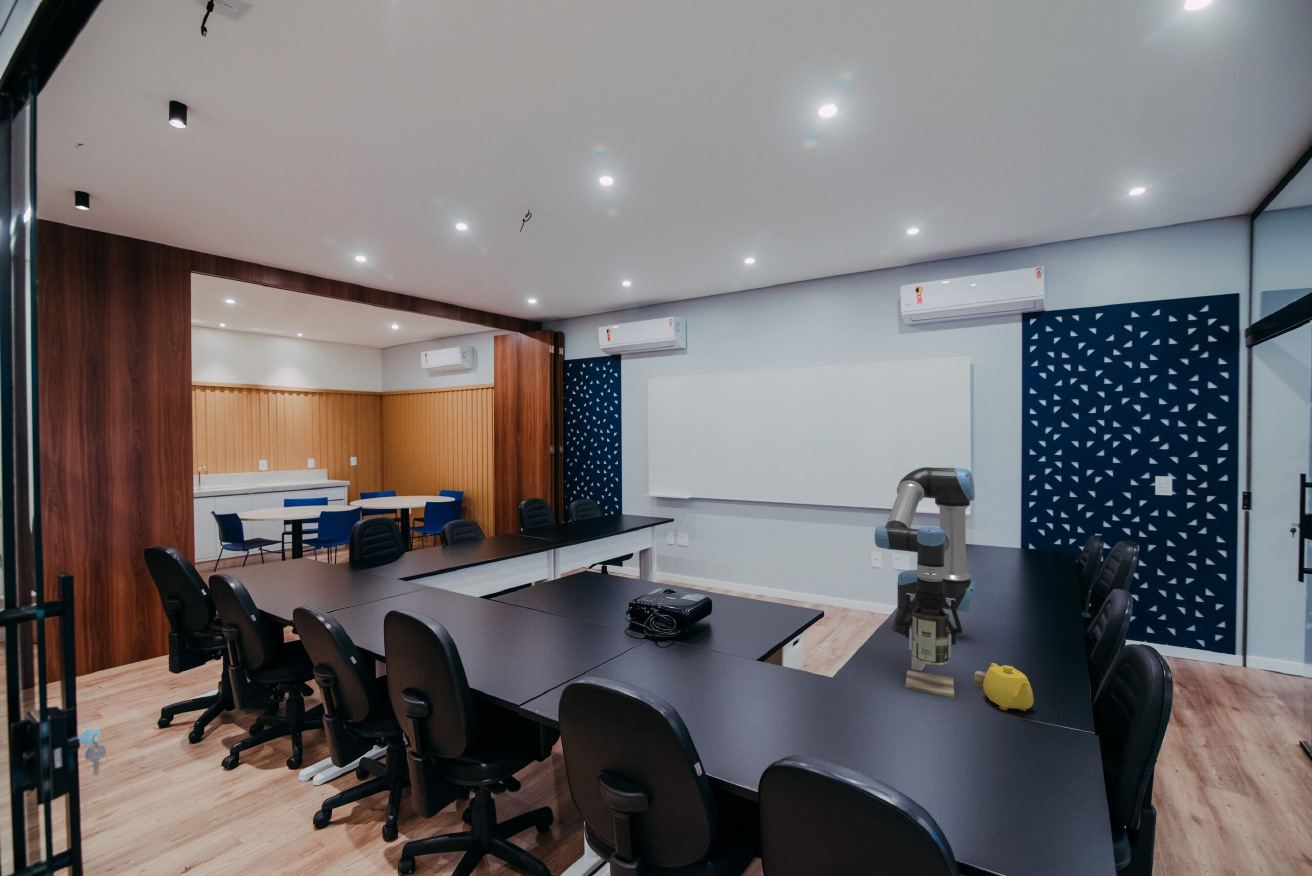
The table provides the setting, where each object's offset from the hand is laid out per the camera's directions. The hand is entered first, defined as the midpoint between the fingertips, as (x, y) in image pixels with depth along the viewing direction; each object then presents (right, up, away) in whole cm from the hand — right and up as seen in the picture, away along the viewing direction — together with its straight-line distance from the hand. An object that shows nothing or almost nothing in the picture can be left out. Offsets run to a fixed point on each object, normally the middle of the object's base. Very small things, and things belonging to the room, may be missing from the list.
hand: (929, 651), depth 173 cm
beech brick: (+16, -10, -2) cm, 19 cm away
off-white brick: (+3, -10, +13) cm, 17 cm away
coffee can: (0, -2, 0) cm, 2 cm away
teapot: (+16, -10, -13) cm, 23 cm away
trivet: (0, -10, 0) cm, 10 cm away
